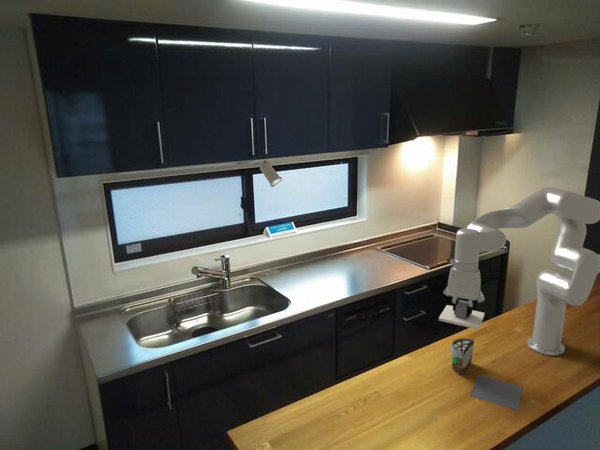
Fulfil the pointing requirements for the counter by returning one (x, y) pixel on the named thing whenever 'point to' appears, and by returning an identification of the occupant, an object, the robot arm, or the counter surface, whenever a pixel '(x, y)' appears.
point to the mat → (497, 392)
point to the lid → (462, 315)
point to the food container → (461, 354)
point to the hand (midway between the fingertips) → (462, 313)
